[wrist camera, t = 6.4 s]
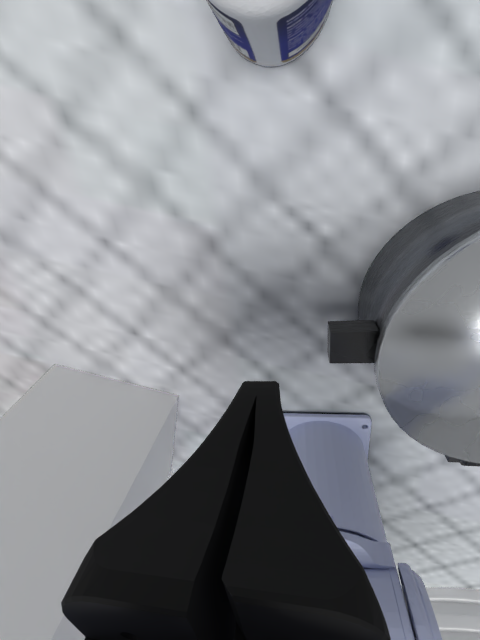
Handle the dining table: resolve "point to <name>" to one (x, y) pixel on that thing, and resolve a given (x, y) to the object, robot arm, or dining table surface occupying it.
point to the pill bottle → (271, 27)
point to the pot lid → (436, 355)
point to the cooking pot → (401, 275)
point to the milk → (71, 485)
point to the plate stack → (456, 612)
